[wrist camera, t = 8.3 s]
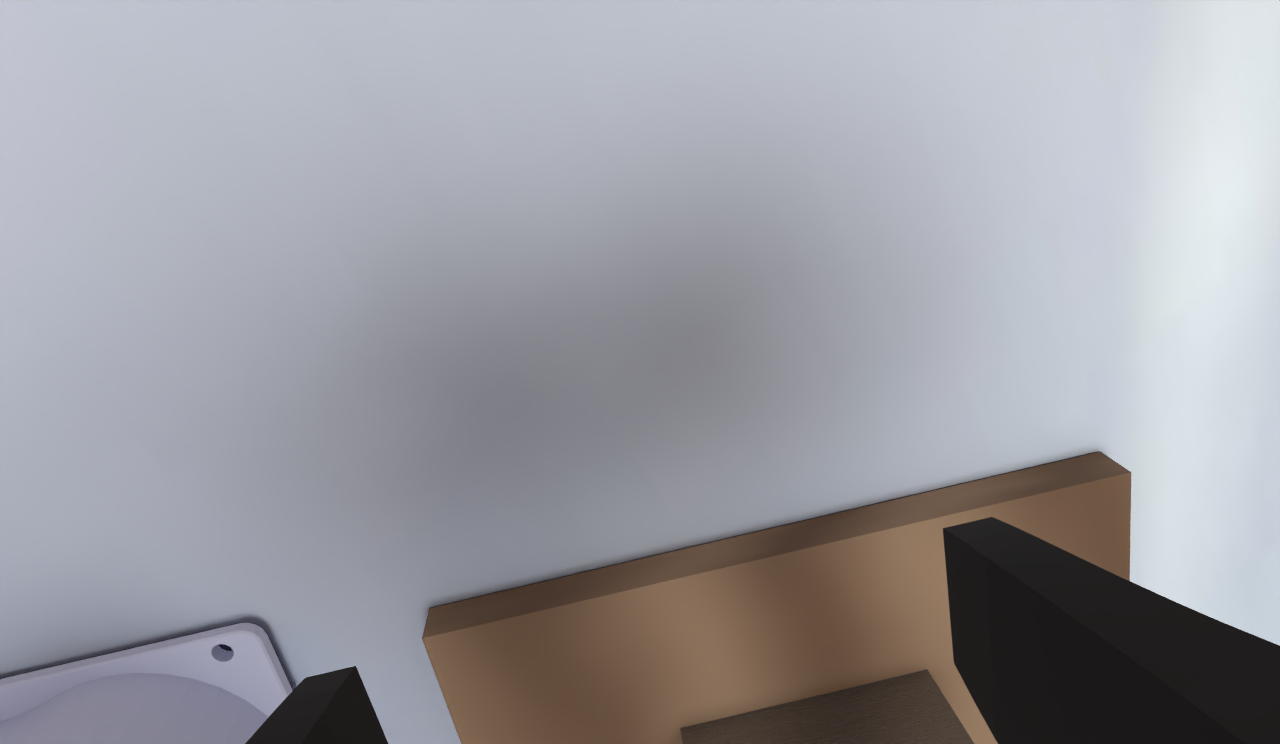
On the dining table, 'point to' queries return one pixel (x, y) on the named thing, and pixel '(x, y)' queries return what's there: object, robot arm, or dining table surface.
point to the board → (752, 616)
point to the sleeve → (846, 718)
